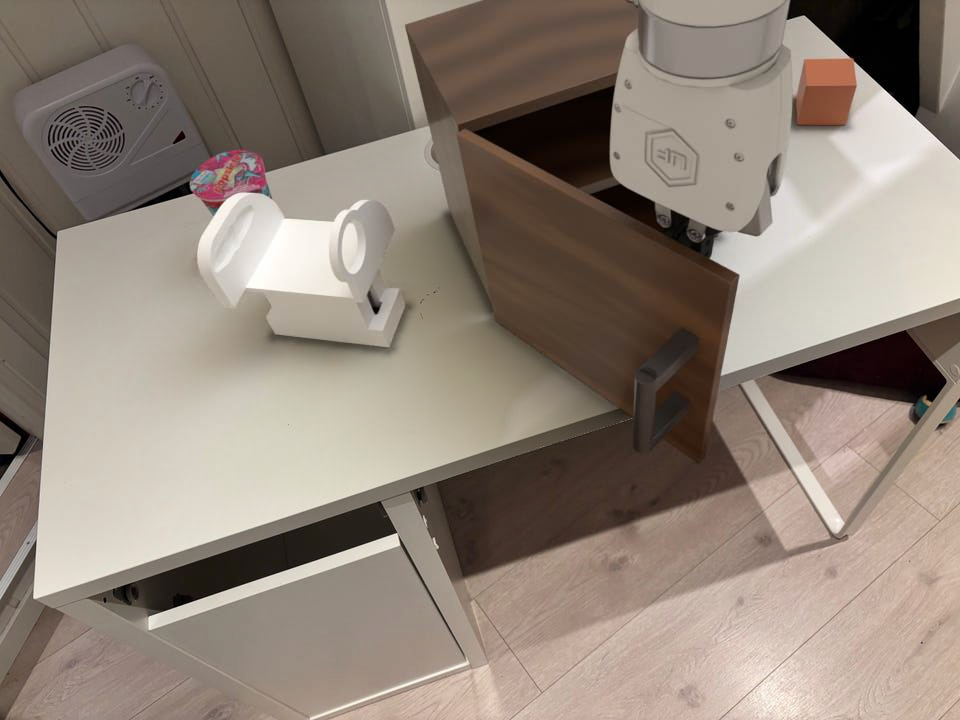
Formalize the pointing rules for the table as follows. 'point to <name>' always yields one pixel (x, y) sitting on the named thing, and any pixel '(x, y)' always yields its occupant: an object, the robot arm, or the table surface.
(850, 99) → the block
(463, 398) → the table surface
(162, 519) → the table surface
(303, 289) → the tape dispenser
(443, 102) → the cupboard
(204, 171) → the cup
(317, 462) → the table surface
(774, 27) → the robot arm
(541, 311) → the cupboard door
